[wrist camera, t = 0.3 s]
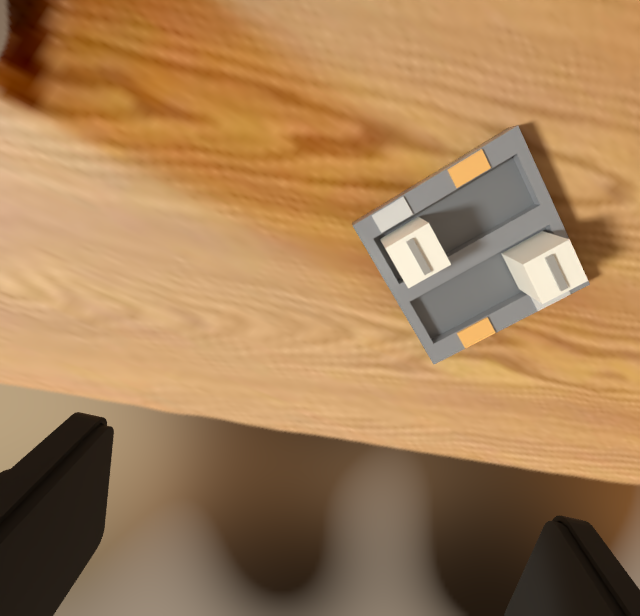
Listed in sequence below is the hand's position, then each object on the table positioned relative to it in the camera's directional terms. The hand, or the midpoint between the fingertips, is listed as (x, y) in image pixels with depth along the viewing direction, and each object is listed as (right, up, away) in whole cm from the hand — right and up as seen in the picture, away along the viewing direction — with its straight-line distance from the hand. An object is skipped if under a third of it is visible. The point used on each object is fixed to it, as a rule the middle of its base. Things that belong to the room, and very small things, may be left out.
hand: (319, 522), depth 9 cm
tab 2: (+8, +10, +32) cm, 34 cm away
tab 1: (+20, +9, +32) cm, 38 cm away
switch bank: (+14, +10, +33) cm, 37 cm away
